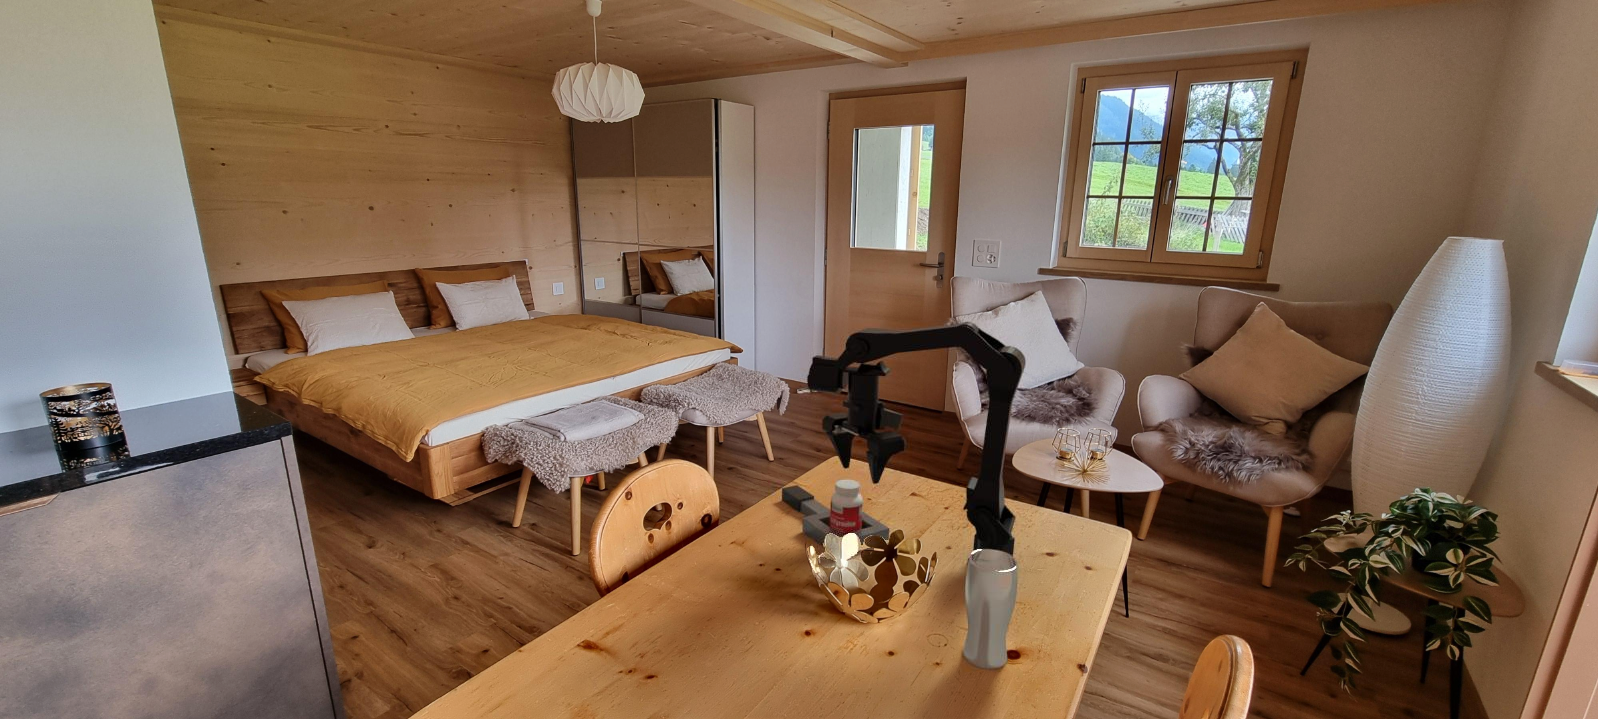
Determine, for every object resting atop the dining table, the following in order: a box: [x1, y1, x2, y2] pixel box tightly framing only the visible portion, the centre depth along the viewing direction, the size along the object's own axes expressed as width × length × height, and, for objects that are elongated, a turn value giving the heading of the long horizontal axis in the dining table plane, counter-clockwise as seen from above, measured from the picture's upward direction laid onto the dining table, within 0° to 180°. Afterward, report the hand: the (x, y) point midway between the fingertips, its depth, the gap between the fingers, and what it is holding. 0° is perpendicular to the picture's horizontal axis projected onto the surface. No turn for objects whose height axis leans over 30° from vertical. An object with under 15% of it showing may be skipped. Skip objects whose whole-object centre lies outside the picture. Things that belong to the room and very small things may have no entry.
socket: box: [781, 484, 890, 548], centre depth 140 cm, size 27×12×3 cm, turn 32°
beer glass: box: [962, 549, 1019, 670], centre depth 97 cm, size 7×7×15 cm
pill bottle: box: [829, 479, 864, 535], centre depth 133 cm, size 6×6×11 cm
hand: (860, 475), depth 132 cm, fingers open, 9 cm apart
